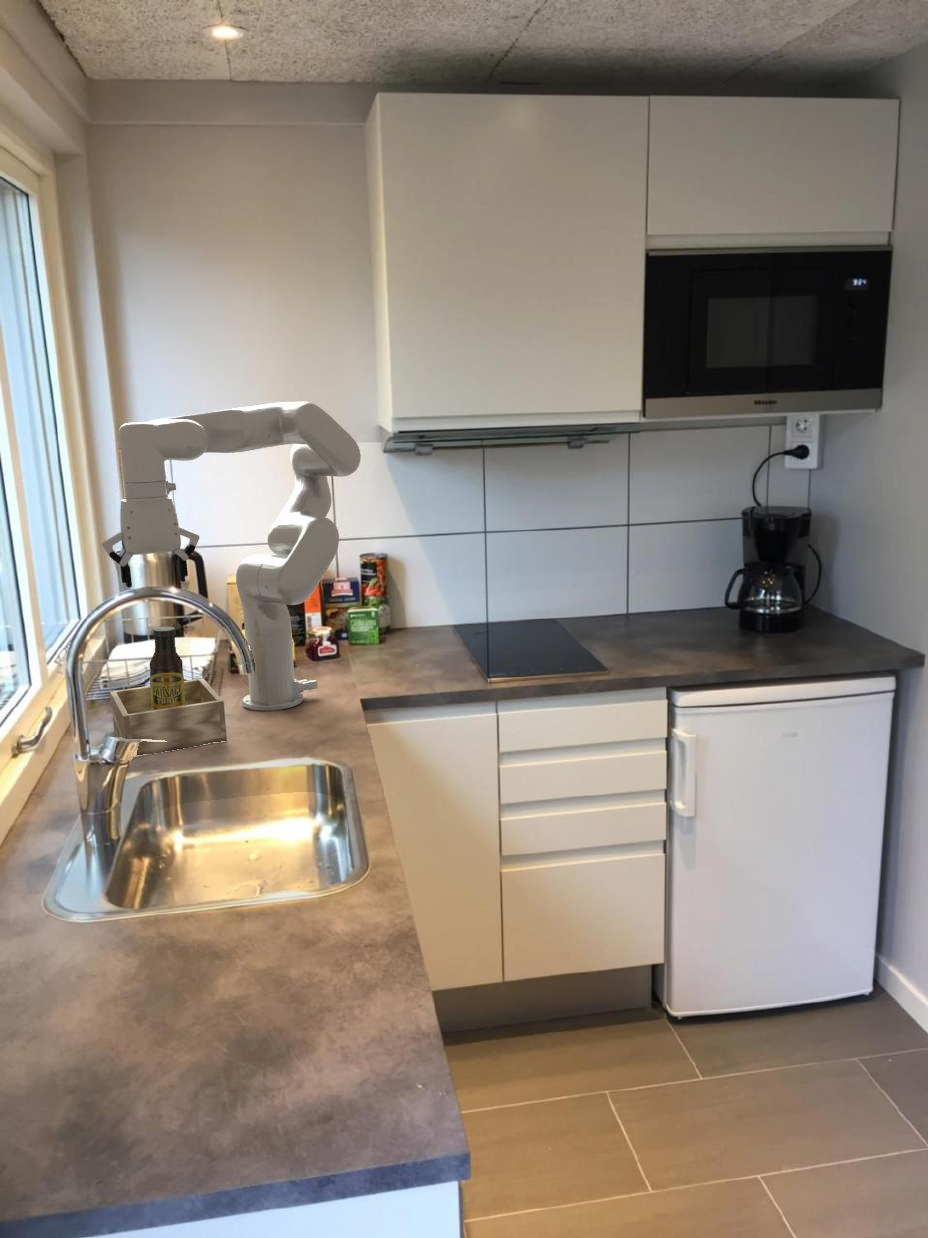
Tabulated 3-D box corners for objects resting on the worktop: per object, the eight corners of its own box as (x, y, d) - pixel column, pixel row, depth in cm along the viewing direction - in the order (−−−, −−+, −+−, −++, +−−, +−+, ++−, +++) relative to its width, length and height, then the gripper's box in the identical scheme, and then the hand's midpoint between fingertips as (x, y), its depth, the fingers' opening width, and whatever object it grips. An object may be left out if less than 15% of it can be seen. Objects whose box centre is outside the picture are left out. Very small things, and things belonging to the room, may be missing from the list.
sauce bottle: (152, 736, 190) (142, 633, 186) (153, 726, 196) (143, 626, 192) (188, 732, 192) (179, 630, 187) (188, 722, 198) (179, 623, 193)
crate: (206, 716, 206) (203, 678, 204) (227, 741, 190) (223, 701, 188) (114, 730, 198) (110, 691, 196) (127, 758, 182) (123, 716, 180)
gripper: (190, 486, 191) (198, 575, 194) (94, 492, 183) (104, 585, 187) (198, 489, 184) (206, 581, 188) (99, 496, 177) (109, 592, 180)
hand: (155, 583), depth 187 cm, fingers open, 9 cm apart
